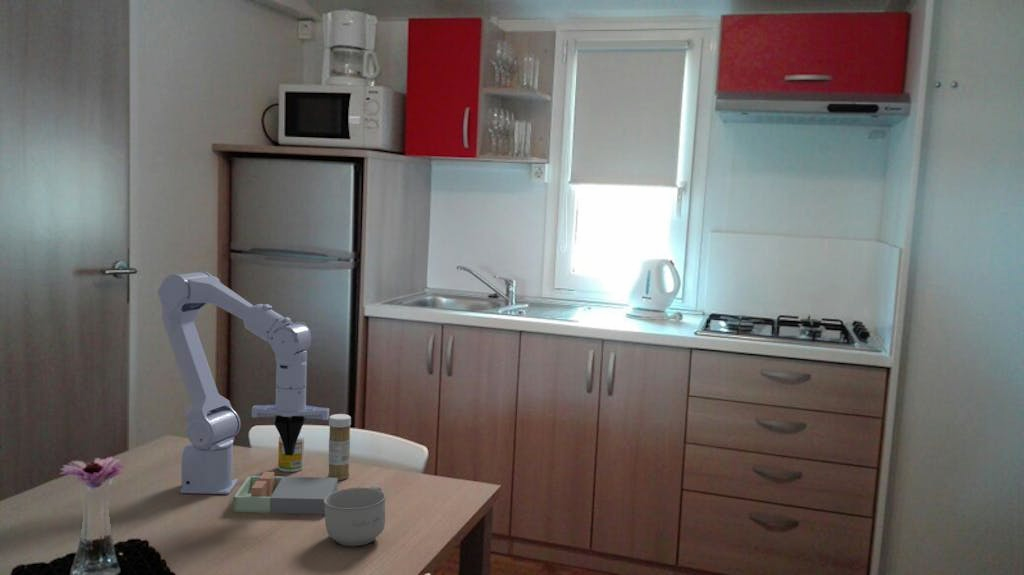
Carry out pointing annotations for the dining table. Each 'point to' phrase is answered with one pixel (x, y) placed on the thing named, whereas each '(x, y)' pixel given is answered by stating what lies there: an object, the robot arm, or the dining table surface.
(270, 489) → the tile
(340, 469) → the sprinkles bottle
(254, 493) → the tile
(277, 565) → the dining table surface
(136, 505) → the dining table surface
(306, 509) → the slate board
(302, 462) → the supplement bottle
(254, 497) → the tray
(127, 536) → the dining table surface
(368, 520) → the teacup
